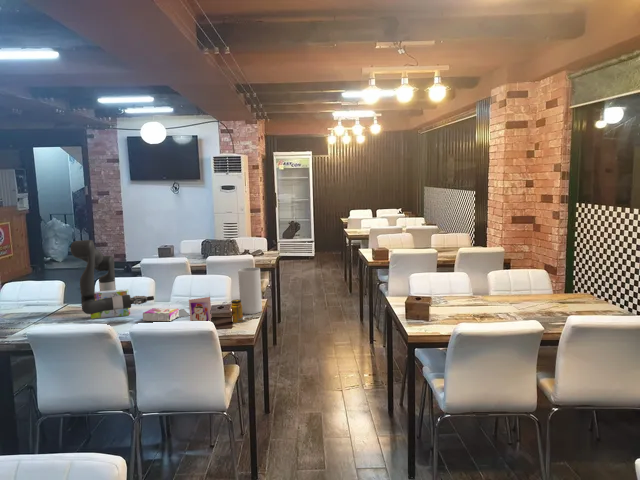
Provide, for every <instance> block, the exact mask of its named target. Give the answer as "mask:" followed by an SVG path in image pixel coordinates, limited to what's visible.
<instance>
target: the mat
mask: <svg viewBox="0 0 640 480" xmlns="http://www.w3.org/2000/svg"><path fill="white" fill-rule="evenodd" d="M187 317H190V313H189V312H187V310H185V309H184V308H181V309H179V317H177V318H176V319H181V318H187Z"/></svg>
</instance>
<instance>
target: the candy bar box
mask: <svg viewBox="0 0 640 480" xmlns="http://www.w3.org/2000/svg"><path fill="white" fill-rule="evenodd" d="M179 310H180V309H179V308H164V307H163V308H162V307H161V308H160V307H158V308H157V307H154V308H150V309H148V310H146V311H144V312H142V319H143V320H142V321H143V322H169V321H170V322H172V321H173V320H175V319H178V318H177V317H179Z"/></svg>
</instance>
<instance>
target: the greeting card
mask: <svg viewBox="0 0 640 480" xmlns="http://www.w3.org/2000/svg"><path fill="white" fill-rule="evenodd" d="M211 302H212V301H211V296H207V297H200V298H192V299H188V306H189V307H188V309H189V310H188V311H189V315H190V316H189V322H190V321H208V320H210V321H211V318H212V313H211V314H210V310H211V311H212V307H211V306H212V303H211Z"/></svg>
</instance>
